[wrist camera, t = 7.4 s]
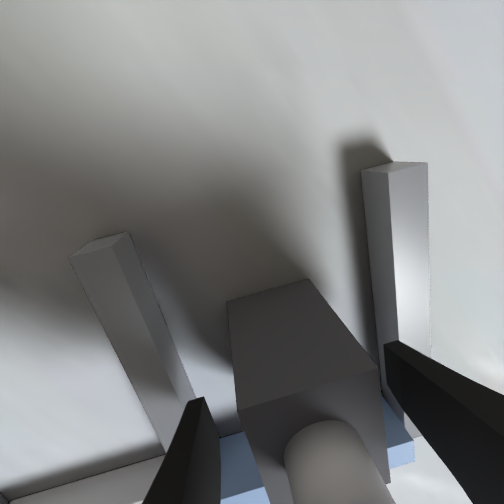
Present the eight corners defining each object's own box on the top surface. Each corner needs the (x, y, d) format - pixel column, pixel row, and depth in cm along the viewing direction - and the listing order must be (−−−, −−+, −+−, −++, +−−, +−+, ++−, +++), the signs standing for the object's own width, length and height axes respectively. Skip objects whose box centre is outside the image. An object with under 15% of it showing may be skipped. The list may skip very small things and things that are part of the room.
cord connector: (324, 360, 15) (434, 563, 8) (252, 381, 15) (292, 612, 7) (308, 278, 13) (431, 436, 6) (226, 301, 13) (245, 495, 6)
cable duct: (407, 401, 17) (447, 451, 14) (-5, 526, 16) (-53, 606, 13) (394, 161, 12) (449, 163, 9) (-202, 317, 11) (-346, 373, 8)
